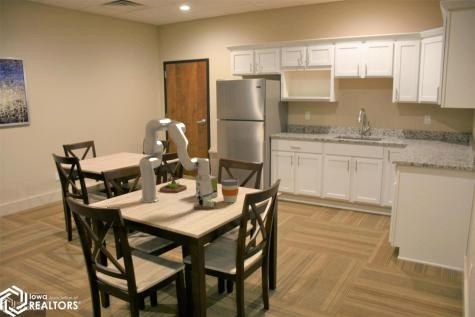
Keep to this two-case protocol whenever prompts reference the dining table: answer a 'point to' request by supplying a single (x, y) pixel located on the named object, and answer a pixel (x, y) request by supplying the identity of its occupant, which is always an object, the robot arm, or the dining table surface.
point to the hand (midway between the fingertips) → (204, 203)
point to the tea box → (214, 186)
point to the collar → (207, 201)
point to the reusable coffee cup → (230, 189)
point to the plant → (173, 187)
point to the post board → (199, 207)
